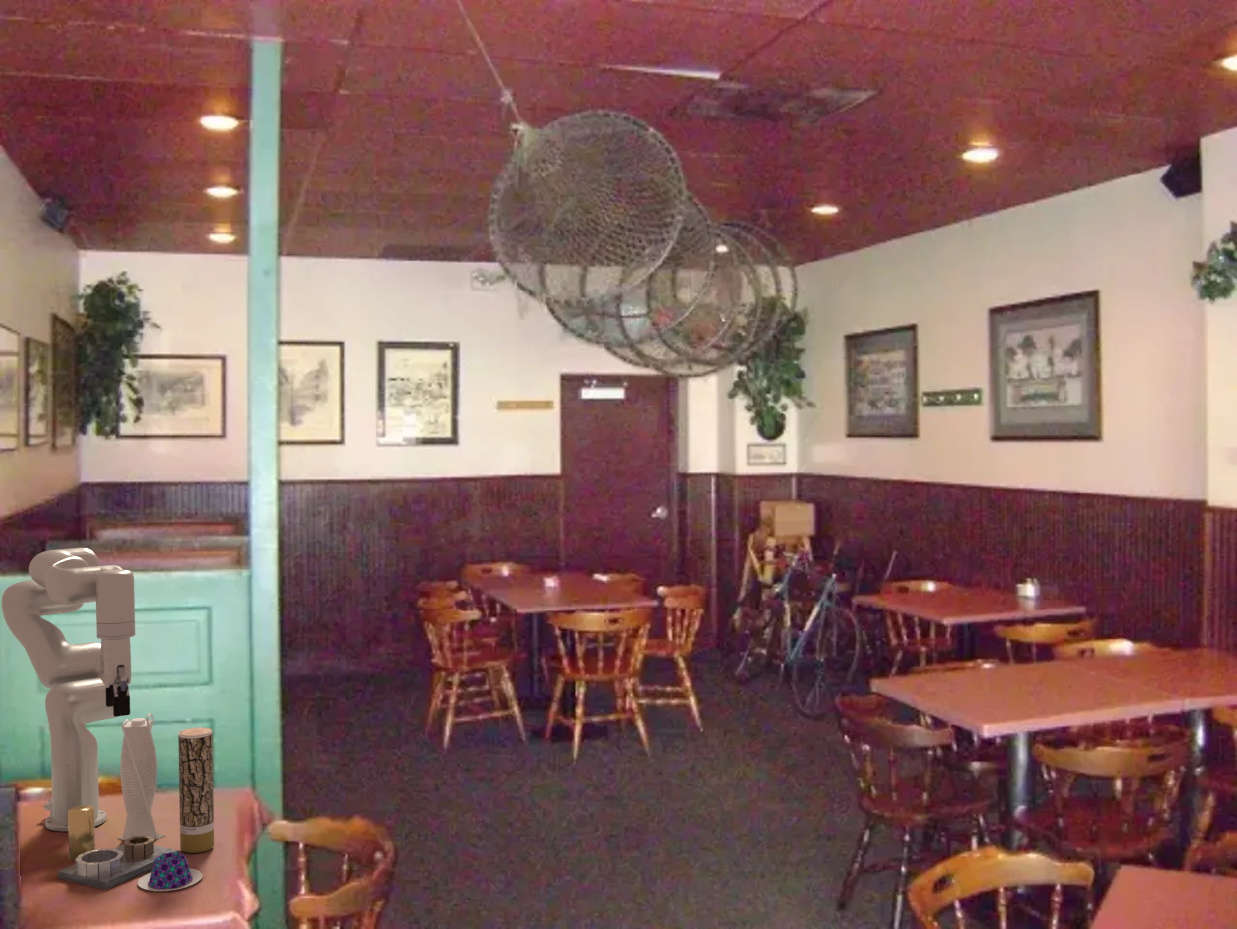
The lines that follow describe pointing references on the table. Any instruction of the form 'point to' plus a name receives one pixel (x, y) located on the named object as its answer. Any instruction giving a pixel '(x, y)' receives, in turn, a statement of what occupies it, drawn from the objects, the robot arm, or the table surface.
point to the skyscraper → (138, 777)
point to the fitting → (81, 830)
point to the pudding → (170, 873)
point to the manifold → (114, 863)
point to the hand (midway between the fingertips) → (117, 710)
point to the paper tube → (196, 789)
